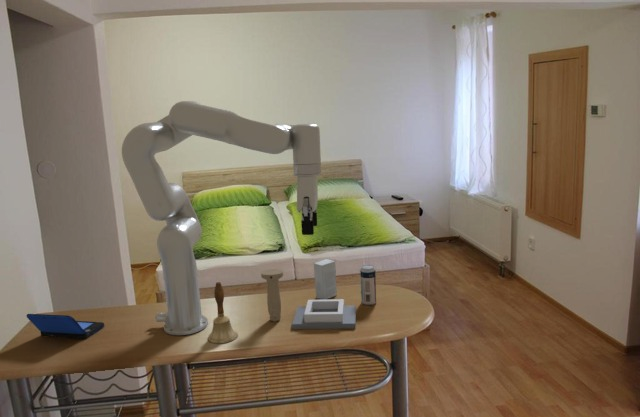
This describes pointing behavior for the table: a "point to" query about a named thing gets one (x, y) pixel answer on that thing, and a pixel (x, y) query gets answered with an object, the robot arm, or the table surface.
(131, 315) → the table surface
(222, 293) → the hand bell
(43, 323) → the handheld game console
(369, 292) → the beer can
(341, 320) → the socket board
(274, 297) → the handle
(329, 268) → the skincare box
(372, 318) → the table surface
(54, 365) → the table surface
